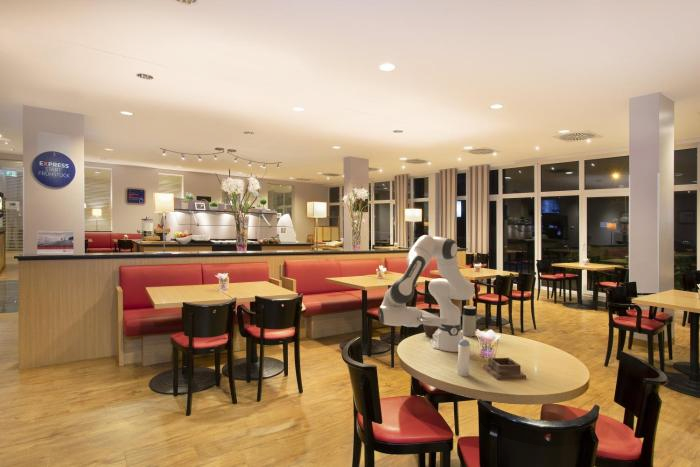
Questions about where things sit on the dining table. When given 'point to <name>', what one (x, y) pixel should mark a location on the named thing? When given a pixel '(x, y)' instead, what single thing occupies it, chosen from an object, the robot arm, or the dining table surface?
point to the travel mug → (469, 321)
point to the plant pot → (431, 329)
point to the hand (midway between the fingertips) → (442, 318)
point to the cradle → (504, 369)
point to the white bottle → (463, 357)
